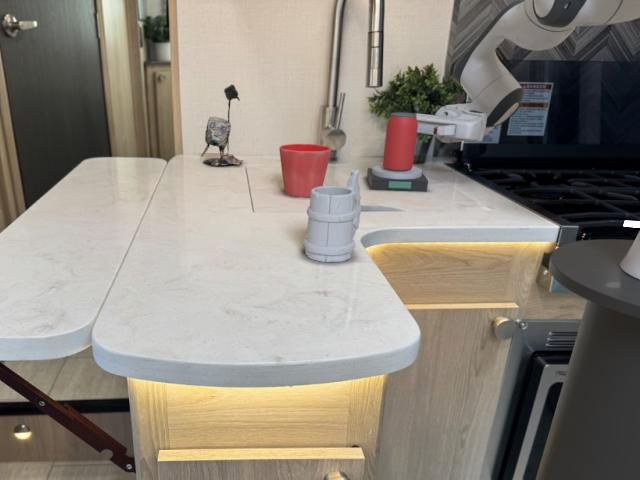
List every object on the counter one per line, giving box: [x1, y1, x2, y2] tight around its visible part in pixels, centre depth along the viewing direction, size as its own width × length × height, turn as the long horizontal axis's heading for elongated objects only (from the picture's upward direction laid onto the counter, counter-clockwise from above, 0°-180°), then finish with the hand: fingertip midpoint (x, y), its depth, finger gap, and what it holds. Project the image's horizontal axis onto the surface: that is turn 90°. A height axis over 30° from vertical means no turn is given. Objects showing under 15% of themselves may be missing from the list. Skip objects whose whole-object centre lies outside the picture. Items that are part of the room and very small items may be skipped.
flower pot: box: [279, 143, 332, 198], centre depth 119 cm, size 11×11×10 cm
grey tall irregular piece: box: [200, 84, 243, 166], centre depth 145 cm, size 8×11×20 cm
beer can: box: [382, 112, 418, 171], centre depth 125 cm, size 7×7×12 cm
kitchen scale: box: [366, 164, 429, 192], centre depth 128 cm, size 12×12×4 cm
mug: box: [303, 169, 363, 263], centre depth 84 cm, size 8×12×12 cm, turn 139°
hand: (418, 128), depth 127 cm, fingers open, 8 cm apart
